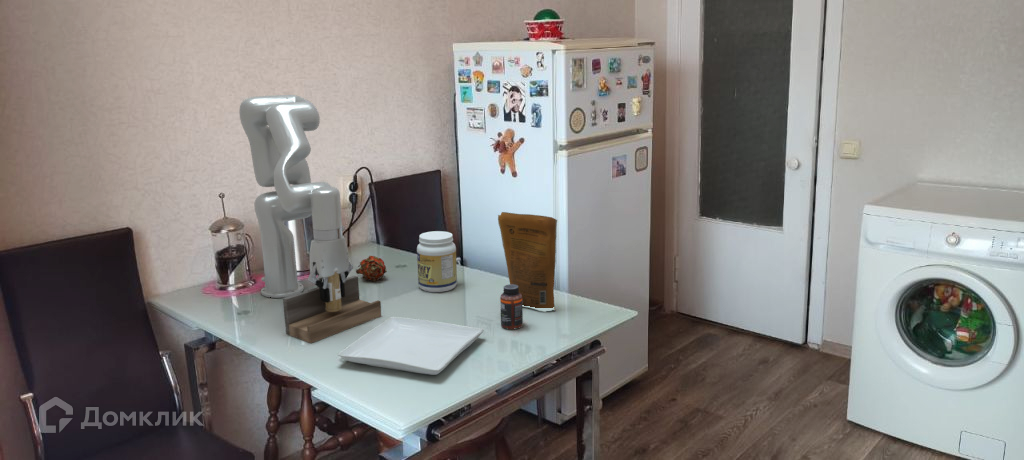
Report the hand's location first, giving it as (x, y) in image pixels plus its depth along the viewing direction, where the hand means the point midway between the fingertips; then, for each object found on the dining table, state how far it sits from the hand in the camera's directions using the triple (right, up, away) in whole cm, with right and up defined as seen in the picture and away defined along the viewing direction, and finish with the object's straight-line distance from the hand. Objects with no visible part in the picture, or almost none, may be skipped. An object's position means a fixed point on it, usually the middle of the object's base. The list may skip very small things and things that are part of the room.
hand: (332, 298), depth 198 cm
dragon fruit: (+3, +2, +40) cm, 41 cm away
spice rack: (0, -8, +2) cm, 8 cm away
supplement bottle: (+49, -8, -1) cm, 49 cm away
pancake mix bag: (+54, -4, +14) cm, 56 cm away
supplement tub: (+25, 0, +32) cm, 41 cm away
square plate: (+24, -13, -16) cm, 32 cm away
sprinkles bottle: (0, -3, +1) cm, 4 cm away
